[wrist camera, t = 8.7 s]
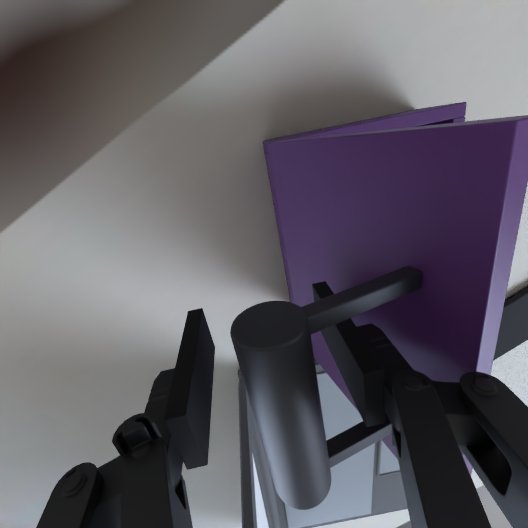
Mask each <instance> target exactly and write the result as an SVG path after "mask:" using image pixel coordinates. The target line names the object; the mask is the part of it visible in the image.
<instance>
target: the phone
mask: <svg viewBox="0 0 528 528" xmlns="http://www.w3.org/2000/svg"><path fill="white" fill-rule="evenodd" d="M526 340H528V287H527V288H526V289H524V290H522V291H521V292H519V293H518V294H516V295H514V296H513V297H511V298H510V299H508V300H507V301H505V302H504V307H503V312H502V317H501V322H500V328H499V333H498V338H497V343H496V348H495V354H494V359H493V360H495V359H497V358H498V357H500V356H502V355H503V354H505V353H506V352H508V351H510V350H511V349H513V348H515V347H516V346H518V345H520V344H521V343H523V342H525V341H526Z"/></svg>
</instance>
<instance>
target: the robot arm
mask: <svg viewBox="0 0 528 528" xmlns="http://www.w3.org/2000/svg"><path fill="white" fill-rule="evenodd" d="M312 288H313V296H314V302H315V301H318V300H320V299H323V298H325V297H328V296H330V295H333V294H334V293H333V291H332V290H331V288H330V287H329V285H328V284H327V283H326V281H323V282H319V283H314V284H312ZM321 333H322V335H323V337H324V340H325V342H326V344H327V346H328V348H329V350H330V352H331V354H332V356H333V358H334V361H335V363H336V365H337V367H338V369H339V371H340V373H341V375H342V377H343V379H344V382H345V384H346V386H347V388H348V390H349V392H350V394H351V396H352V398H353V400H354V403H355V405H356V407H357V409H358V411H359V413H360V415H361V417H362V419H363V421H364V424H365V426H366V427H370V426H374V425H378V424H382V423H386V414H387V416H388V418H389V420H390V421H391V423H392V446H395V448H396V453H397V458H398V463H399V467H400V472H401V477H402V482H403V487H404V492H405V496H406V501H407V506H408V511H409V516H410V520H411V525H412V528H491V526H490V523H489V521H488V518H487V516H486V513H485V511H484V508H483V506H482V503H481V501H480V498H479V496H478V493H477V491H476V488H475V486H474V483H473V481H472V478H471V476H470V473H469V471H468V468H467V466H466V463H465V461H464V458H463V456H462V453H461V451H462V452H463V454H464V455H465V457H466V458H467V460H468V461H469V463H470V464H471V466H472V467H473V469H474V470H475V472H476V473H477V475H478V476H479V478H480V479H481V481H482V482H483V484H484V485H485V487H486V488H487V490H488V491H489V492H490V494H491V496H492V497H493V499H494V500H495V502H496V503H497V505H498V506H499V507H500V509H501V511H502V512H503V513H504V515H505V517H506V518H507V520H508V521H509V522H510V524H511V526H512V527H513V528H528V407H527V406H526V405H525V404H524V403H523V402H522V401H521V400H520V399H519V398H518V397H517V396H516V395H515V394H514V393H513V392H512V391H511V390H510V389H509V388H508V387H507V386H506V385H505V384H504V383H502V382H501V381H500V380H499V379H497V378H495V377H493V376H491V375H489V374H486V373H481V372H468V373H466V374H463V375H462V377H461V378H460V381H459V382H440V381H434V380H431V379H430V378H429V377H427V376H426V375H425V374H423V373H421V372H418V371H415V370H413V369H412V367H411V366H410V365H409V364H408V362H407V361H406V360H405V359H404V357H403V356H402V355H401V354H400V352H399V351H398V350H397V348H396V347H395V346H394V345H393V344H392V342H391V341H390V340H389V338H387V336H386V335H385V333H384V332H383V331H382V330H381V329H380V328H378V327H377V326H375V325H373V324H372V323H370V324H365V325H361V326H356V325H355V324H354V322H353V321H352V319H351V318H349V319H347V320H345V321H342V322H340V323H338V324H335V325H333V326H330V327H328V328H326V329H323V330H321ZM214 354H215V346H214V343H213V340H212V337H211V334H210V331H209V328H208V325H207V322H206V319H205V315H204V312H203V309H202V308H201V309H196V310H192V311H188V315H187V319H186V323H185V328H184V332H183V336H182V341H181V345H180V349H179V354H178V358H177V362H176V367H175V368H174V369H169V370H165V371H161V372H160V374H159V375H158V376H157V378H156V379H155V381H154V383H153V386H152V389H151V393H150V396H149V399H148V400H149V401H148V403H147V406H146V409H145V412H144V413H140V414H137V415H134V416H132V417H130V418H129V419H127V420H125V421H124V422H123V423H122V424H121V425H120V426H119V427H118V429H117V430H116V432H115V434H114V436H113V440H112V442H113V444H114V446H115V447H116V449H117V450H118V452H119V454H120V456H118V457H117V458H115V459H113V460H112V461H110V462H108V463H106V464H104V465H102V466H100V467H99V468H97V467H96V466H95V465H94V464H92V463H90V462H89V463H82V464H80V465H77V466H75V467H73V468H72V469H71V470H70V471H68V472H67V473H66V474H65V475H64V476H63V477H62V478H61V479H60V480H59V481H58V483H57V484H56V486H55V488H54V489H53V491H52V493H51V496H50V498H49V500H48V503H47V505H46V507H45V509H44V512H43V514H42V516H41V518H40V521H39V523H38V525H37V527H36V528H193V526H192V521H191V515H190V509H189V504H188V498H187V492H186V486H185V481H184V479H183V477H182V475H181V472H182V465H183V462H184V464H185V466H186V468H187V470H188V469H192V468H196V467H200V466H205V465H207V464H208V448H209V433H210V417H211V401H212V386H213V370H214ZM460 449H461V451H460Z"/></svg>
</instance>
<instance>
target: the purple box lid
mask: <svg viewBox="0 0 528 528" xmlns="http://www.w3.org/2000/svg"><path fill="white" fill-rule="evenodd" d="M268 148H269V154H270V160H271V166H272V172H273V178H274V184H275V190H276V196H277V202H278V208H279V214H280V220H281V226H282V232H283V238H284V244H285V250H286V256H287V262H288V268H289V274H290V280H291V286H292V292H293V298H294V303H291V302H287V301H268V302H263V303H260V304H257V305H254V306H252V307H250V308H248V309H246V310H244V311H243V312H242V313H240V314H239V315H238V316H237V317H236V319H235V320H234V321H233V323H232V326H231V332H230V333H231V338H232V342H233V345H234V349H235V352H236V355H237V359H238V362H239V366H240V369H241V373H242V376H243V379H244V383H245V386H246V390H247V393H248V397H249V400H250V403H251V407H252V410H253V414H254V417H255V421H256V424H257V427H258V431H259V434H260V438H261V441H262V444H263V448H264V451H265V455H266V458H267V462H268V465H269V468H270V472H271V475H272V479H273V482H274V486H275V489H276V491H277V494H278V495H279V497H280V498H281V499H282V501H283V502H284V503H286V504H287V505H288V506H290V507H292V508H295V509H299V510H308V509H312V508H314V507H316V506H318V505H319V504H320V503H321V502H323V501H324V499H325V498H326V496H327V495H328V493H329V490H330V487H331V470H330V468H332V467H333V466H335V465H337V464H339V463H340V462H342V461H344V460H346V459H347V458H349V457H351V456H353V455H354V454H356V453H358V452H360V451H361V450H363V449H365V448H367V447H368V446H370V445H372V444H374V443H376V442H377V441H379V440H382V441H383V442H384V443H385V445H386V446H387V447H388V448H389V450H390V451H391V452H392V453H393V454H394V456H395V457H396V458H397V453H396V448H395V446H392V423H391V421H390V420H389V418H388V416H387V414H386V423H382V424H378V425H374V426H370V427H366V426H365V424H364V421H362V422H360V423H358V424H357V425H355V426H353V427H351V428H349V429H347V430H345V431H344V432H342V433H340V434H338V435H336V436H334V437H332V438H331V439H329V440H327V441H326V436H325V429H324V422H323V415H322V408H321V401H320V395H319V388H318V381H317V374H316V367H315V360H316V361H317V362H318V363H319V364H320V366H321V367H322V368H323V369H324V371H325V372H326V373H327V374H328V375H329V377H330V378H331V379H332V380H333V382H334V383H335V384H336V385H337V386H338V388H339V389H340V390H341V391H342V392H343V394H344V395H345V396H346V397H347V399H348V400H349V401H350V402H351V403H352V405H353V406H354V407H355V408H356V409H357V407H356V405H355V403H354V400H353V398H352V396H351V394H350V392H349V390H348V388H347V386H346V384H345V382H344V379H343V377H342V375H341V373H340V371H339V369H338V367H337V365H336V363H335V361H334V358H333V356H332V354H331V352H330V350H329V348H328V346H327V344H326V342H325V340H324V337H323V335H322V333H321V330H323V329H326V328H328V327H330V326H333V325H335V324H338V323H340V322H342V321H345V320H347V319H349V318H351V319H352V321H353V322H354V324H355V325H356V326H361V325H365V324H370V323H372V324H373V325H375V326H377V327H378V328H380V329H381V330H382V331H383V332H384V333H385V335H386V336H387V338H389V340H390V341H391V342H392V344H393V345H394V346H395V347H396V348H397V350H398V351H399V352H400V354H401V355H402V356H403V357H404V359H405V360H406V361H407V362H408V364H409V365H410V366H411V367H412V369H413V370H415V371H418V372H421V373H423V374H425V375H426V376H427V377H429V378H430V379H431V380H434V381H440V382H459V381H460V378H461V377H462V375H463V374H466V373H468V372H481V373H486V374H489V375H490V374H491V369H492V364H493V359H494V354H495V348H496V343H497V338H498V333H499V328H500V322H501V317H502V312H503V307H504V302H505V296H506V291H507V286H508V281H509V276H510V270H511V265H512V260H513V255H514V250H515V245H516V239H517V234H518V229H519V224H520V219H521V213H522V208H523V203H524V198H525V193H526V187H527V182H528V115H526V116H516V117H507V118H497V119H487V120H477V121H467V122H458V123H448V124H438V125H428V126H419V127H409V128H399V129H389V130H380V131H370V132H360V133H350V134H340V135H331V136H321V137H311V138H301V139H292V140H282V141H275V142H271V143H268ZM323 281H326V283H327V284H328V285H329V287H330V288H331V290H332V291H333V293H334V294H333V295H330V296H328V297H325V298H323V299H320V300H318V301H315V302H314V296H313V288H312V284H314V283H319V282H323ZM314 358H315V360H314ZM357 411H358V409H357ZM358 412H359V411H358ZM460 451H461V449H460ZM461 453H462V456H463V458H464V461H465V463H466V466H467V468H468V471H469V473H470V476H471V473H472V468H473V467H472V466H471V464H470V463H469V461H468V460H467V458H466V457H465V455H464V454H463V452H462V451H461ZM397 459H398V458H397Z"/></svg>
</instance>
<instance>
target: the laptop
mask: <svg viewBox="0 0 528 528" xmlns="http://www.w3.org/2000/svg"><path fill="white" fill-rule="evenodd" d="M314 360H315V358H314ZM315 367H316V374H317V381H318V388H319V395H320V401H321V408H322V415H323V422H324V429H325V436H326V441H327V440H329V439H331V438H332V437H334V436H336V435H338V434H340V433H342V432H344V431H345V430H347V429H349V428H351V427H353V426H355V425H357V424H358V423H360V422H362V421H363V419H362V417H361V415H360V413H359V412H358V411H357V409H356V408H355V407H354V406H353V405H352V403H351V402H350V401H349V400H348V399H347V397H346V396H345V395H344V394H343V392H342V391H341V390H340V389H339V388H338V386H337V385H336V384H335V383H334V382H333V380H332V379H331V378H330V377H329V375H328V374H327V373H326V372H325V371H324V369H323V368H322V367H321V366H320V364H319V363H318V362H317V361H316V360H315ZM238 376H239V387H238V390H239V427H240V464H241V501H242V528H312V527H317V526H322V525H327V524H333V523H338V522H343V521H348V520H353V519H358V518H363V517H368V516H373V515H378V514H383V513H388V512H394V511H399V510H404V509H408V506H407V501H406V496H405V492H404V487H403V482H402V477H401V472H400V467H399V463H398V459H397V458H396V457H395V456H394V454H393V453H392V452H391V451H390V450H389V448H388V447H387V446H386V445H385V443H384V442H383V441H382V440H379V441H377V442H376V443H374V444H372V445H370V446H368V447H367V448H365V449H363V450H361V451H360V452H358V453H356V454H354V455H353V456H351V457H349V458H347V459H346V460H344V461H342V462H340V463H339V464H337V465H335V466H333V467H332V468H330V470H331V487H330V490H329V493H328V495H327V496H326V498H325V499H324V501H323V502H321V503H320V504H319V505H318V506H316V507H314V508H312V509H308V510H299V509H295V508H292V507H290V506H288V505H287V504H286V503H284V502H283V501H282V499H281V498H280V497H279V495H278V494H277V491H276V489H275V486H274V482H273V479H272V475H271V472H270V468H269V465H268V462H267V458H266V455H265V451H264V448H263V444H262V441H261V438H260V434H259V431H258V427H257V424H256V421H255V417H254V414H253V410H252V407H251V403H250V400H249V397H248V393H247V390H246V386H245V383H244V379H243V376H242V373H241V370H238Z"/></svg>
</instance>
